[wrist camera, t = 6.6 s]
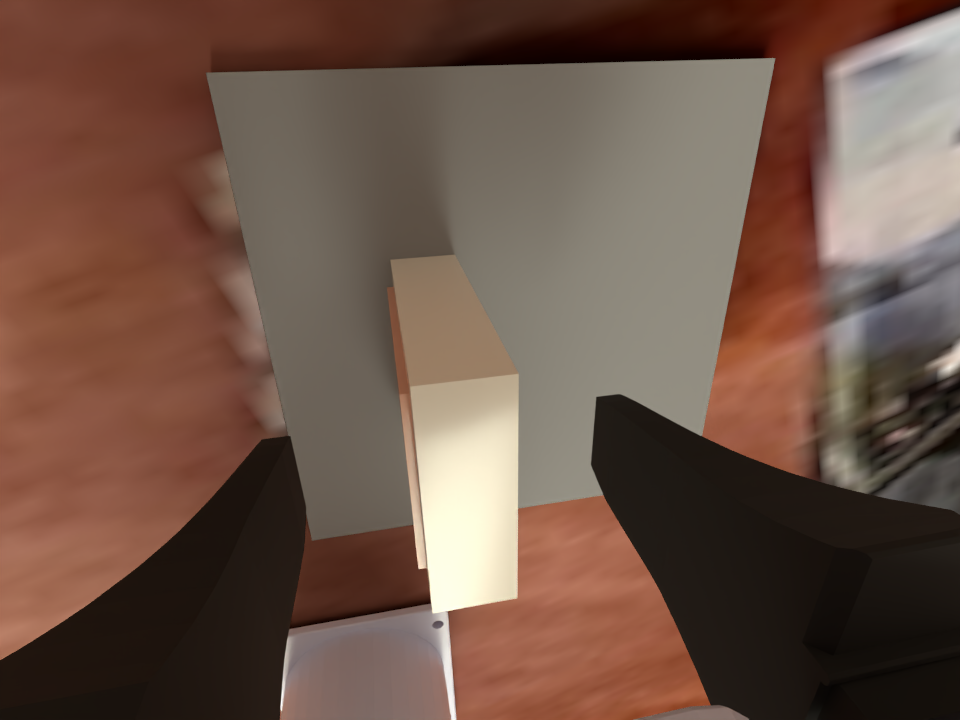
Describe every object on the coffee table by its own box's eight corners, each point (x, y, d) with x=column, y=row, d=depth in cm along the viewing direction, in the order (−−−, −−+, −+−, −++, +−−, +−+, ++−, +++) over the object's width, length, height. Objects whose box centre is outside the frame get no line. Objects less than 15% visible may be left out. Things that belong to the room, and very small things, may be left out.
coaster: (462, 415, 20) (517, 598, 13) (401, 423, 19) (423, 615, 12) (454, 254, 17) (518, 374, 10) (383, 260, 17) (398, 388, 10)
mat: (687, 473, 24) (693, 480, 24) (313, 531, 21) (312, 540, 21) (764, 59, 17) (775, 58, 16) (210, 72, 14) (205, 72, 14)
